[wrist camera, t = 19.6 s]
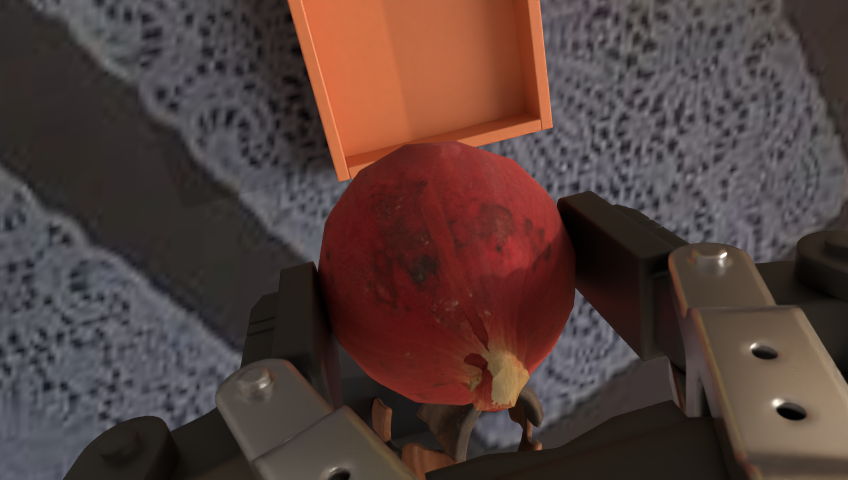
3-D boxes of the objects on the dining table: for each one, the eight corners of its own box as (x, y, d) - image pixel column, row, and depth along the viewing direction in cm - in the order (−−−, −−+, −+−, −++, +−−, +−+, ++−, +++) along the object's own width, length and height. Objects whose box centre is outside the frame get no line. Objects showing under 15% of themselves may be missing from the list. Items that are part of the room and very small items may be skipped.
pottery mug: (354, 358, 35) (435, 398, 28) (466, 322, 41) (556, 348, 34) (371, 532, 37) (451, 606, 30) (477, 474, 42) (564, 527, 36)
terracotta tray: (336, 168, 30) (338, 182, 27) (270, -67, 25) (266, -74, 23) (535, 118, 31) (553, 127, 28) (507, -117, 26) (526, -129, 24)
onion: (275, 184, 15) (243, 349, 8) (457, 74, 15) (595, 141, 8) (383, 333, 18) (434, 562, 10) (541, 240, 17) (705, 410, 10)
